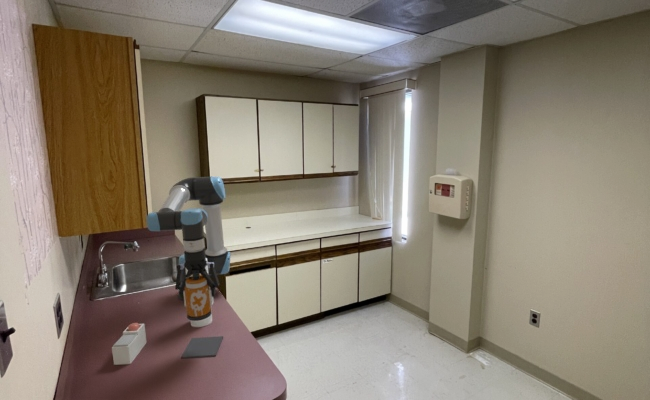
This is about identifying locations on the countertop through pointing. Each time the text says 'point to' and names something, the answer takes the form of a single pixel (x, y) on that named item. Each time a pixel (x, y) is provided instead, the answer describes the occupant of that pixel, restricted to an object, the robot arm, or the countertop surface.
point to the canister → (197, 297)
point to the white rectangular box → (129, 345)
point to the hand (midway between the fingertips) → (199, 304)
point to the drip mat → (202, 347)
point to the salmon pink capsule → (133, 327)
